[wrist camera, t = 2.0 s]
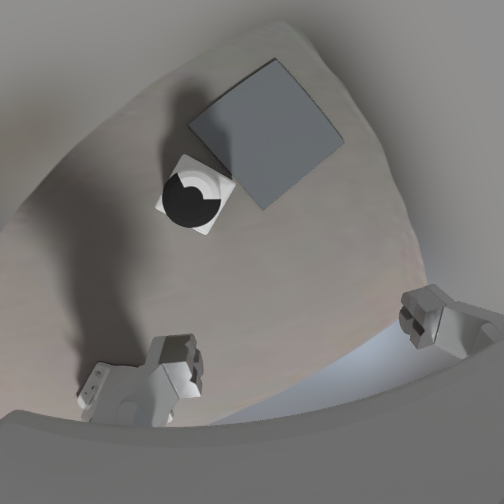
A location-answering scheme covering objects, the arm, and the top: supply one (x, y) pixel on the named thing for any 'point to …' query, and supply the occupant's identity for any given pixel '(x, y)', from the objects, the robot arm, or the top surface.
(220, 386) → the top surface
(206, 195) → the medicine bottle
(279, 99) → the dark rubber mat
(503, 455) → the robot arm
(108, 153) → the top surface
